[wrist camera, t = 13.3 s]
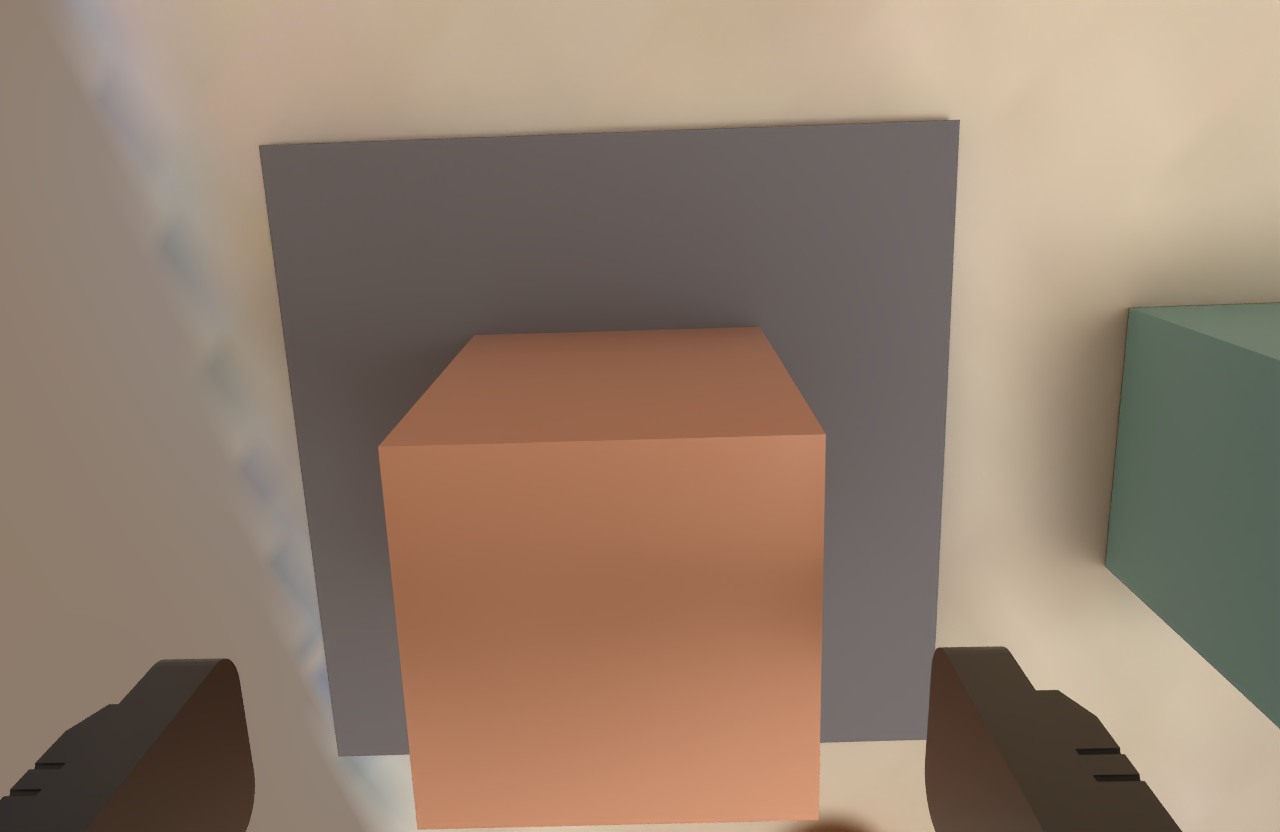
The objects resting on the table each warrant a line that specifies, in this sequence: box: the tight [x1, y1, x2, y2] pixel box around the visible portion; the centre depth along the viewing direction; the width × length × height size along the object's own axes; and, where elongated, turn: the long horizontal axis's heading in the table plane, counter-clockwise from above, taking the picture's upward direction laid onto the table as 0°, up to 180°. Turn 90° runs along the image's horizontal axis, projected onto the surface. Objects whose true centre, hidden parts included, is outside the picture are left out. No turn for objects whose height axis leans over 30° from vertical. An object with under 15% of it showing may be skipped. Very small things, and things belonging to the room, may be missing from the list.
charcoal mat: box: [259, 120, 960, 756], centre depth 22 cm, size 14×14×1 cm
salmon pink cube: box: [378, 327, 826, 829], centre depth 18 cm, size 6×6×8 cm
